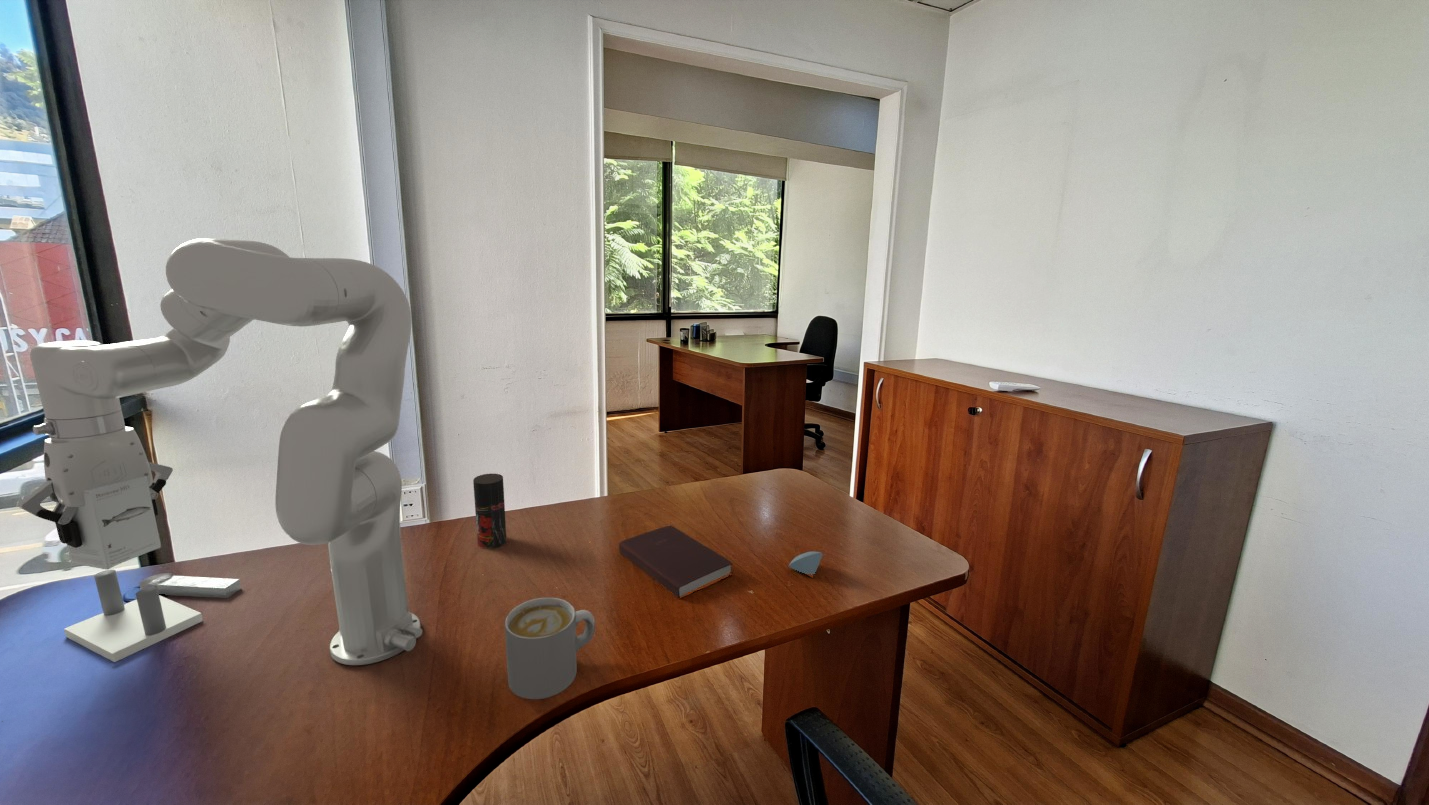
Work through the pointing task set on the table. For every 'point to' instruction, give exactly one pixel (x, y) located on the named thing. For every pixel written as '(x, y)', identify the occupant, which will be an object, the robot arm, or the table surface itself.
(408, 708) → the table surface
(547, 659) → the coffee mug
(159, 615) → the cradle
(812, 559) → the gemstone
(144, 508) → the supplement box
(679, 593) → the book
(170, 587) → the bar
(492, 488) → the deodorant
